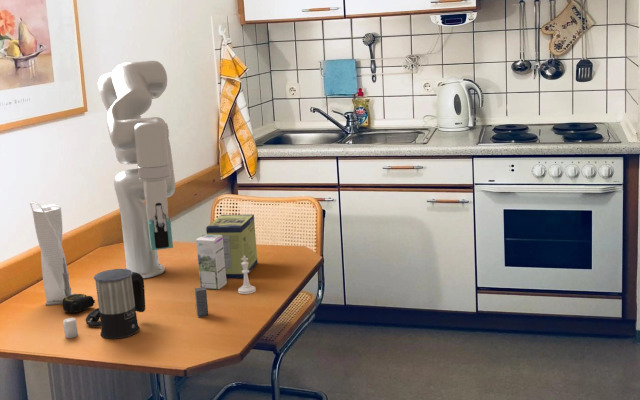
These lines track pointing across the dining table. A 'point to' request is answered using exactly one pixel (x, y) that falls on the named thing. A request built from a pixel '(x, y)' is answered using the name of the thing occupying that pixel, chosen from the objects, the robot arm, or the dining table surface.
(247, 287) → the chess piece
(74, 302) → the tape measure
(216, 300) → the dining table surface
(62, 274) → the skyscraper
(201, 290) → the post
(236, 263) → the protein box
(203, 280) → the syrup box
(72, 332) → the short round post
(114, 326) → the milk frother
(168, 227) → the teal rectangular block
